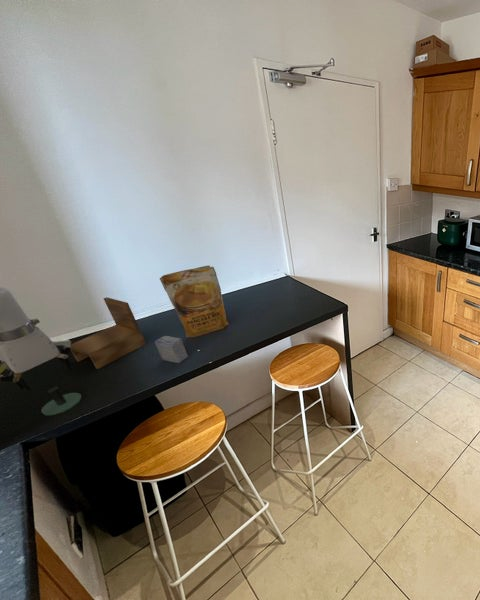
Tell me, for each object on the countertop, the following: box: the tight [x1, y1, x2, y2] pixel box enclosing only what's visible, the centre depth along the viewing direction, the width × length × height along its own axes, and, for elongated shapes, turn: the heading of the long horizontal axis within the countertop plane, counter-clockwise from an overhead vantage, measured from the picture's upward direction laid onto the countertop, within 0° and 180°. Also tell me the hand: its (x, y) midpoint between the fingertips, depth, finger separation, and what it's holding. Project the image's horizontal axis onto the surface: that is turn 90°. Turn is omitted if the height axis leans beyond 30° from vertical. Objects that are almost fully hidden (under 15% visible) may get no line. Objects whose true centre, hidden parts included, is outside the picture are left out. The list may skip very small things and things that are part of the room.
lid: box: [41, 386, 83, 416], centre depth 97 cm, size 9×9×6 cm
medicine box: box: [154, 335, 189, 364], centre depth 117 cm, size 8×4×9 cm, turn 74°
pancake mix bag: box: [159, 265, 229, 339], centre depth 130 cm, size 7×19×28 cm, turn 129°
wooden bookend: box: [70, 297, 147, 370], centre depth 118 cm, size 17×13×19 cm
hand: (47, 378), depth 94 cm, fingers open, 9 cm apart
